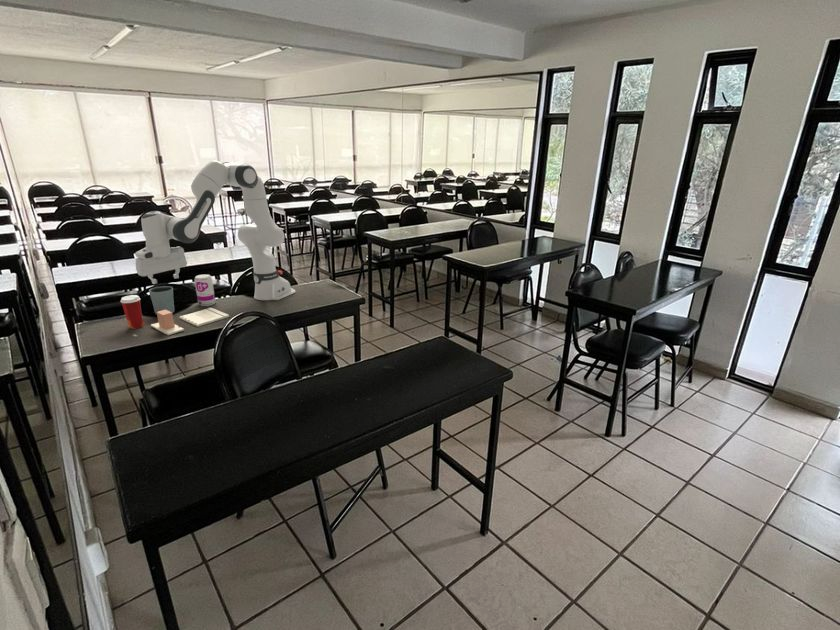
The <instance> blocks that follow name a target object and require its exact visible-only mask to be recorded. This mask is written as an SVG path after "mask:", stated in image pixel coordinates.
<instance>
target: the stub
mask: <svg viewBox="0 0 840 630" xmlns="http://www.w3.org/2000/svg"><path fill="white" fill-rule="evenodd" d="M173 315H174V314H173V313H172V312H170V311H168V310H162V311H158V312H157V316H156V317H157V321H158V322H155V323H151V324H150V326H151V328H153V329H156V330H157V331H159V332H161V333H163V334H165V335H167V336H171V335H173V334H174V335H175V334H177V333H180V332H183V331H185V328H183V327H181V326H179V325H178V324H175V320H174V316H173Z"/></svg>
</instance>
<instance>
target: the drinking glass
mask: <svg viewBox="0 0 840 630" xmlns="http://www.w3.org/2000/svg"><path fill="white" fill-rule="evenodd" d="M148 293H149V296H150V300H151V302H152V306H153V310H154V314H155V315H157V312H158V311H162V310H168V311H170V312H172V314H173V313H175V304H174V303H175V301H174V288H173V286H169V285H168V286H167V285H162V286H155V287H152V288H150V289H148Z"/></svg>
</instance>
